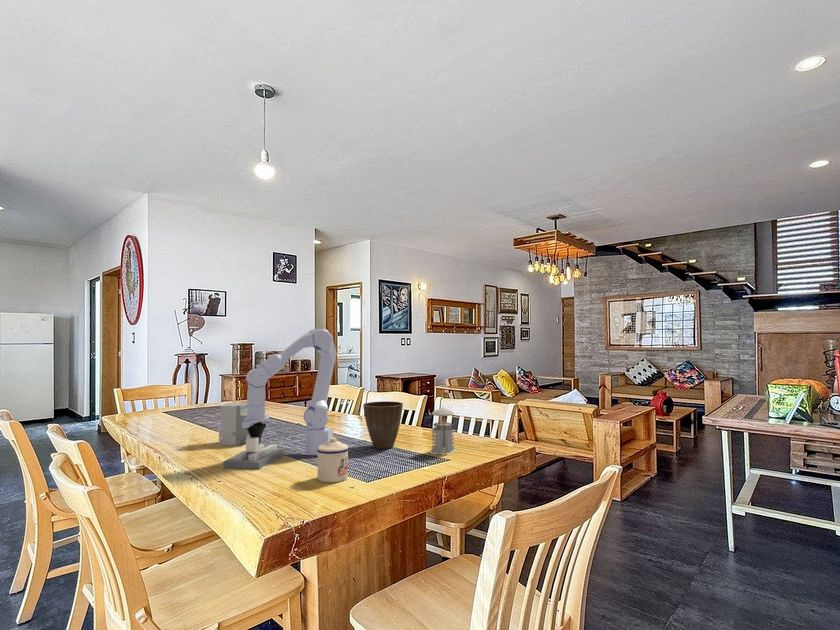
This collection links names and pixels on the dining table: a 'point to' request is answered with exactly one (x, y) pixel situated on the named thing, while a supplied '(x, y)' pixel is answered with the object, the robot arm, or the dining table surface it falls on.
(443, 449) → the french press
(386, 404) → the plant pot
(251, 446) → the lever
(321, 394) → the robot arm
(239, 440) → the circuit breaker
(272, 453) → the panel
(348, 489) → the dining table surface
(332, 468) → the teacup with lid
